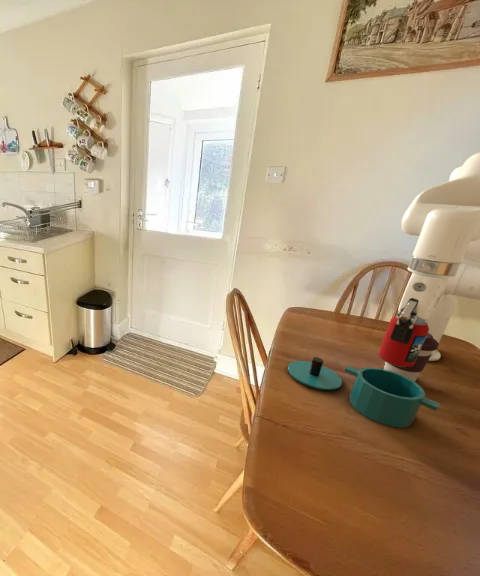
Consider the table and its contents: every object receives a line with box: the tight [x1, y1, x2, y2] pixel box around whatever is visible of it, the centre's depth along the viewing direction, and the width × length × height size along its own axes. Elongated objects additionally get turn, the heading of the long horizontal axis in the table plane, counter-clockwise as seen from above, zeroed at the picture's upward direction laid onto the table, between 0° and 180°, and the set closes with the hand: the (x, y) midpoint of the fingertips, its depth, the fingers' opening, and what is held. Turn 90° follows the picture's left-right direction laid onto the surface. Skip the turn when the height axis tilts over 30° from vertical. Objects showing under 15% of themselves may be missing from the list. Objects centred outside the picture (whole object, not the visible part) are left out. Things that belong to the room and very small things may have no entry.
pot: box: [344, 365, 441, 428], centre depth 80 cm, size 13×18×8 cm
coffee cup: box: [383, 333, 440, 382], centre depth 92 cm, size 10×10×15 cm
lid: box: [287, 356, 343, 391], centre depth 93 cm, size 14×14×6 cm
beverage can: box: [377, 313, 429, 367], centre depth 76 cm, size 7×7×12 cm
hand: (404, 336), depth 75 cm, fingers closed on beverage can, 6 cm apart
